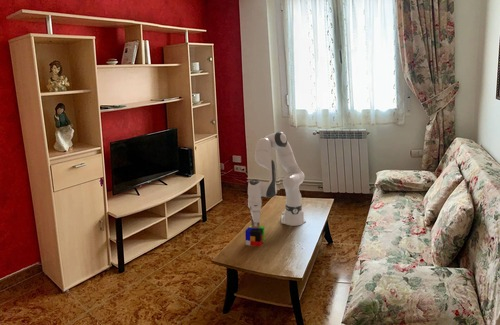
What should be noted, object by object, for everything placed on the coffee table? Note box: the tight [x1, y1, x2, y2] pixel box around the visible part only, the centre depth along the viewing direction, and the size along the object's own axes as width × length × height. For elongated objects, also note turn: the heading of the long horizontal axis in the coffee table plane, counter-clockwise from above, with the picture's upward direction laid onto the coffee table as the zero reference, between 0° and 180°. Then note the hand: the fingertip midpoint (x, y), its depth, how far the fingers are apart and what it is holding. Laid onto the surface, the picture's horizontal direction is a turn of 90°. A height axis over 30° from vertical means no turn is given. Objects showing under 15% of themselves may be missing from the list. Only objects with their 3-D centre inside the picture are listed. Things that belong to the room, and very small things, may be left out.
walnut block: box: [250, 217, 261, 228], centre depth 275 cm, size 5×5×5 cm
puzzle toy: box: [244, 224, 265, 247], centre depth 277 cm, size 10×10×10 cm
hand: (254, 224), depth 275 cm, fingers closed on walnut block, 5 cm apart
